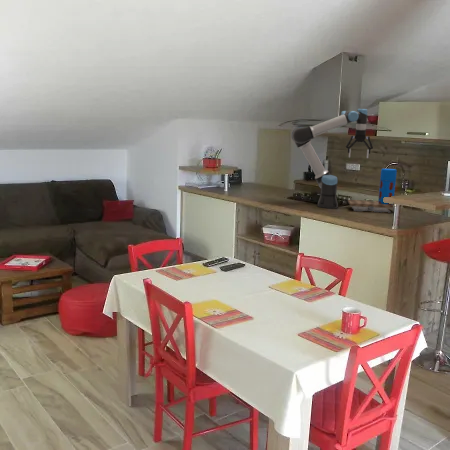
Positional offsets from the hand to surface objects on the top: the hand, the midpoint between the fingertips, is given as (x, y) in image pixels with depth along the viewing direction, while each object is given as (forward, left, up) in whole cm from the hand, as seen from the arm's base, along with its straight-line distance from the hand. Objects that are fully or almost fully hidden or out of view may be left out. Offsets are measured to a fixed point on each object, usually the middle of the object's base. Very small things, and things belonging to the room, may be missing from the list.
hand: (358, 157), depth 389 cm
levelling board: (+9, -21, -32) cm, 39 cm away
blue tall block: (+19, -21, -31) cm, 42 cm away
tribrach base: (+9, -21, -37) cm, 43 cm away
